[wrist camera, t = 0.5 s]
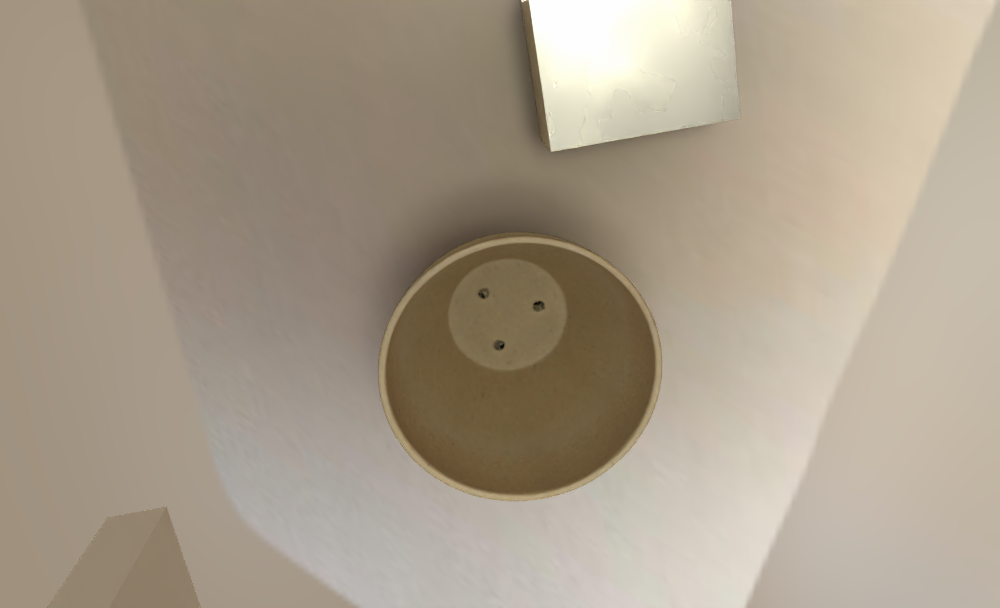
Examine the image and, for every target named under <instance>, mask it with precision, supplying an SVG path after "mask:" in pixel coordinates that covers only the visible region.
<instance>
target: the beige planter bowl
mask: <svg viewBox="0 0 1000 608" xmlns="http://www.w3.org/2000/svg"><path fill="white" fill-rule="evenodd" d="M479 293H483V294H484V298H482V297H480V295H479ZM538 301H541V303H540V304H538V305H534V303H535V302H538ZM501 342H503V343H504V347H503V348H500V343H501ZM661 376H662V353H661V345H660V339H659V335H658V331H657V327H656V324H655V321H654V319H653V317H652V314H651V312H650V310H649V308H648V307H647V305H646V303H645V301H644V300H643V298H642V297H641V295H640V294H639V292H638V291H637V290H636V288H635V287H634V286H633V284H632V283H631V282H630V281H629V280H628V279H627V278H626V277H625V276H624V275H623V274H622V273H621V272H620V271H619V270H617V269H616V268H615V267H614V266H613V265H611V264H610V263H609V262H607V261H606V260H605V259H603V258H601V257H600V256H598V255H597V254H595V253H593V252H592V251H590V250H588V249H586V248H584V247H582V246H580V245H577V244H575V243H573V242H570V241H568V240H565V239H561V238H558V237H555V236H550V235H545V234H539V233H530V232H508V233H500V234H493V235H489V236H485V237H481V238H478V239H475V240H472V241H470V242H467V243H465V244H463V245H461V246H459V247H457V248H455V249H453V250H451V251H449V252H448V253H446V254H445V255H443V256H442V257H441V258H439V259H438V260H436V261H435V262H434V263H433V264H431V265H430V266H429V267H428V268H427V269H426V270H425V271H424V272H423V273H422V274H421V275H420V276H419V277H418V278H417V279H416V280H415V281H414V282H413V284H412V285H411V286H410V287H409V289H408V290H407V291H406V292H405V294H404V296H403V297H402V299H401V300H400V302H399V303H398V305H397V307H396V308H395V310H394V312H393V314H392V316H391V319H390V321H389V323H388V325H387V328H386V331H385V333H384V336H383V340H382V344H381V349H380V355H379V362H378V382H379V391H380V397H381V401H382V405H383V409H384V412H385V415H386V417H387V420H388V422H389V424H390V426H391V429H392V431H393V433H394V434H395V436H396V438H397V439H398V441H399V442H400V444H401V445H402V447H403V448H404V449H405V451H406V452H407V453H408V454H409V455H410V456H411V457H412V459H413V460H414V461H415V462H417V463H418V464H419V465H420V466H421V467H422V468H423V469H424V470H426V471H427V472H428V473H430V474H431V475H432V476H434V477H435V478H437V479H438V480H440V481H442V482H444V483H445V484H447V485H449V486H451V487H454V488H456V489H458V490H460V491H463V492H465V493H468V494H471V495H474V496H478V497H483V498H488V499H494V500H502V501H504V500H505V501H528V500H537V499H543V498H548V497H552V496H556V495H559V494H563V493H565V492H568V491H571V490H574V489H576V488H578V487H581V486H583V485H585V484H587V483H589V482H591V481H592V480H594V479H596V478H597V477H599V476H600V475H602V474H603V473H604V472H606V471H607V470H608V469H610V468H611V467H612V466H614V465H615V463H617V462H618V461H619V460H620V459H621V458H622V457H623V456H624V455H625V454H626V453H627V452H628V451H629V450H630V449H631V447H632V446H633V445H634V444H635V442H636V441H637V439H638V438H639V437H640V435H641V434H642V432H643V430H644V429H645V427H646V425H647V424H648V422H649V420H650V418H651V415H652V413H653V410H654V408H655V405H656V402H657V398H658V394H659V390H660V384H661Z"/></svg>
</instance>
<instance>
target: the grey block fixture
mask: <svg viewBox="0 0 1000 608" xmlns="http://www.w3.org/2000/svg"><path fill="white" fill-rule="evenodd" d="M520 1H521V8H522V14H523V21H524V28H525V34H526V41H527V48H528V54H529V61H530V68H531V74H532V81H533V88H534V94H535V101H536V108H537V114H538V121H539V128H540V134H541V140H542V141H543V143H544V144H545V145H546V146H547V147H548V149H549V150H550V151H551V152H553V151H559V150H564V149H570V148H576V147H581V146H587V145H593V144H598V143H604V142H610V141H615V140H621V139H627V138H633V137H638V136H644V135H650V134H655V133H661V132H667V131H672V130H678V129H684V128H690V127H695V126H701V125H707V124H712V123H718V122H724V121H729V120H735V119H740V109H739V96H738V84H737V71H736V58H735V45H734V33H733V20H732V7H731V0H520Z"/></svg>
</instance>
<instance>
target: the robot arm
mask: <svg viewBox="0 0 1000 608" xmlns="http://www.w3.org/2000/svg"><path fill="white" fill-rule="evenodd" d="M47 608H201V607H200V604H199V601H198V598H197V595H196V592H195V589H194V586H193V583H192V580H191V577H190V574H189V572H188V569H187V566H186V563H185V560H184V557H183V554H182V551H181V548H180V545H179V542H178V539H177V536H176V533H175V530H174V528H173V525H172V522H171V519H170V516H169V513H168V510H167V507H163V508H158V509H152V510H147V511H142V512H136V513H131V514H125V515H119V516H114V517H109V518H107V519H106V521H105V522H104V524H103V525H102V527H101V528H100V530H99V531H98V533H97V534H96V535H95V537H94V538H93V540H92V541H91V543H90V544H89V546H88V547H87V549H86V550H85V552H84V553H83V555H82V556H81V558H80V559H79V561H78V562H77V564H76V565H75V567H74V568H73V570H72V571H71V573H70V574H69V576H68V577H67V579H66V580H65V582H64V583H63V585H62V586H61V588H60V589H59V590H58V592H57V593H56V595H55V597H54V598H53V599H52V601H51V603H50V604H49V605H48V607H47Z"/></svg>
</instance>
